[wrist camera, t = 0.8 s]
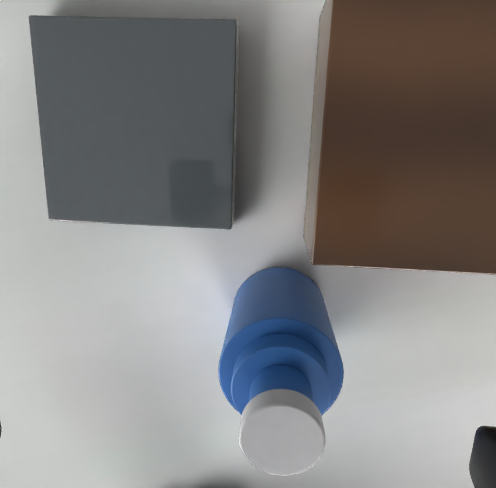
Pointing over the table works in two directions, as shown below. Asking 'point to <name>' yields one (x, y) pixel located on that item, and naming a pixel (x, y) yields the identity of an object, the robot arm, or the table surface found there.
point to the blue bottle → (280, 369)
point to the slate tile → (138, 118)
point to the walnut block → (404, 136)
